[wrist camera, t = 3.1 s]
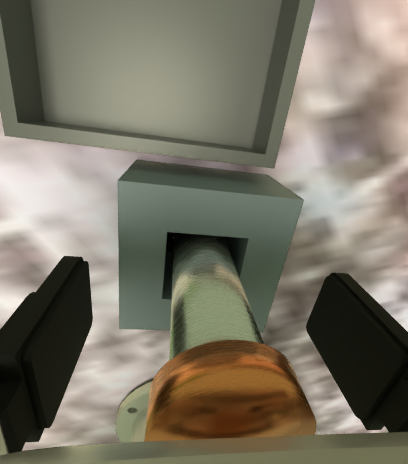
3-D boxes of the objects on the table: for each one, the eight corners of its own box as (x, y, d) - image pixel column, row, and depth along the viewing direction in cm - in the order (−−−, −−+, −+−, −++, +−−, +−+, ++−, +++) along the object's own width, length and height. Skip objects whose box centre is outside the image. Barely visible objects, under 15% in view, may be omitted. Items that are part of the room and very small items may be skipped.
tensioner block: (242, 280, 19) (263, 332, 14) (134, 274, 18) (119, 328, 13) (267, 175, 16) (303, 199, 11) (136, 159, 15) (117, 180, 10)
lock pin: (221, 255, 18) (289, 482, 7) (164, 252, 17) (141, 491, 6) (231, 202, 16) (340, 387, 5) (168, 196, 16) (146, 389, 5)
